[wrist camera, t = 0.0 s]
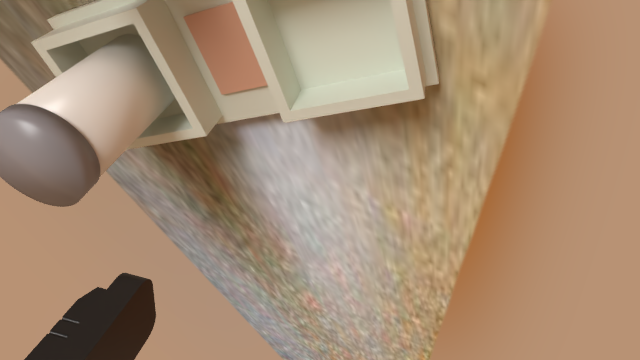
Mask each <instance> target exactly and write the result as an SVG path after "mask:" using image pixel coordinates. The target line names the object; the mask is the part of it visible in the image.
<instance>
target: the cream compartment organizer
mask: <svg viewBox="0 0 640 360" xmlns="http://www.w3.org/2000/svg"><path fill="white" fill-rule="evenodd" d="M47 21H48V22H49V24H50V25H51V26H52V28H53V29H54V30H52V31H51V32H49V33H47V34H45V35H43V36H41V37H40V38H38V39H36V40H34V41H32V42H31V43H32V45H33V46H34V47H35V49H36V50H37V52H38V53H39V54H40V56H41V57H42V58H43V60H44V61H45V63H46V64H47V65H48V67H49V68H50V70H51V71H52V72H53V74H54V75H55V76H56V78H55V79H53V80H52V81H50V82H49V83H47V84H46V85H44V86H43V87H41V88H40V89H38V90H37V91H35V92H34V93H32V94H31V95H29V96H28V97H26V98H25V99H23V100H22V101H20V102H19V103H17V104H14V105H11V106H9V107H7V108H6V109H4V110H3V111H2V112H0V177H1V178H2V179H3V180H5V181H6V182H7V183H8V184H9V185H11V186H12V187H14V188H15V189H16V190H18V191H19V192H21V193H23V194H25V195H26V196H28V197H30V198H32V199H34V200H36V201H39V202H42V203H44V204H48V205H52V206H60V207H61V206H62V207H64V206H71V205H74V204H75V203H77V202H79V200H80V199H81V198H82V197H83V196H84V195H85V194H86V193H87V192H88V191H89V190H90V189H91V188H92V187H93V186H94V184H96V183H97V181H98V180H99V177H100V176H101V175H102V174H103V173H104V172H105V171H106V170H107V169H108V168H109V167H110V166H111V165H112V164H113V163H114V162H115V161H116V160H117V159H118V157H119V156H120V155H121V154H122V153H123V152H124V151H125V150H128V149H134V148H139V147H145V146H151V145H157V144H163V143H169V142H175V141H180V140H186V139H192V138H198V137H204V136H207V135H208V134H209V132H210V131H211V130H212V128H213V127H214V126H215V124H221V123H226V122H232V121H237V120H243V119H248V118H254V117H259V116H265V115H270V114H276V113H280V115H281V118H282V120H283V122H284V123H286V122H291V121H297V120H303V119H309V118H315V117H321V116H326V115H332V114H338V113H344V112H350V111H356V110H362V109H367V108H373V107H379V106H385V105H391V104H397V103H402V102H408V101H414V100H420V99H425V88H426V86H430V85H436V84H439V72H438V66H437V60H436V54H435V48H434V42H433V36H432V30H431V24H430V18H429V12H428V6H427V0H97V1H94V2H92V3H89V4H86V5H83V6H80V7H77V8H74V9H72V10H69V11H66V12H63V13H60V14H57V15H55V16H53V17H51V18H49V19H48V20H47Z"/></svg>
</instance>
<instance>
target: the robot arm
mask: <svg viewBox="0 0 640 360" xmlns="http://www.w3.org/2000/svg"><path fill="white" fill-rule="evenodd" d="M155 318H156V312H155V302H154V293H153V284H152V281H151V280H150V279H146V278H143V277H139V276H135V275H131V274H128V273H122V274H120V275H119V276H118V277H117V278H116V279H115V280H114V282H113V283H112V284H111V285H110V286H109V288H108V289H107V290H106V289H103V288H99V287H97V288H96V289H94V290H92V291H91V292H89V293H88V294H86V295H84V296H83V297H82V298H80V299H78V300H77V301H76V302H75V303H74V304H73V306H72V307H71V308H70V309H69V310H68V311H67V312H66V313H65V315H64V316H63V318H62V320H59V321H58V322H57V323H56V325H55V326H54V327H53V328H52V329H51V331H50V333H49V334H47V335H46V336H45V337H44V338H43V339H42V340H41V341H40V343H39V344H38V345H37V346H36V347H35V348H34V349H33V350H32V352H31V353H30V354H29V355H28V356H27V357H26V358H25V359H24V360H134V359H135V357H136V356H137V354H138V353H139V351H140V350H141V348H142V347H143V345H144V344H145V342H146V340H147V339H148V337H149V335H150V334H151V331H152V329H153V326H154V323H155Z"/></svg>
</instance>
